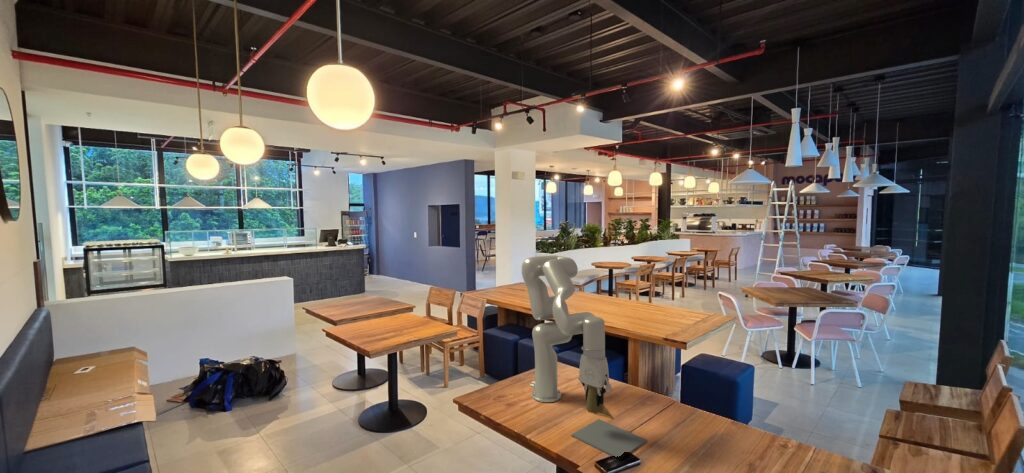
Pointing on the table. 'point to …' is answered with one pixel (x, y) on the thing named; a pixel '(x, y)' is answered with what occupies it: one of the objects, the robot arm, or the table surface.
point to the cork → (593, 400)
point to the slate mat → (609, 438)
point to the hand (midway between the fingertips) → (594, 402)
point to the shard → (604, 413)
